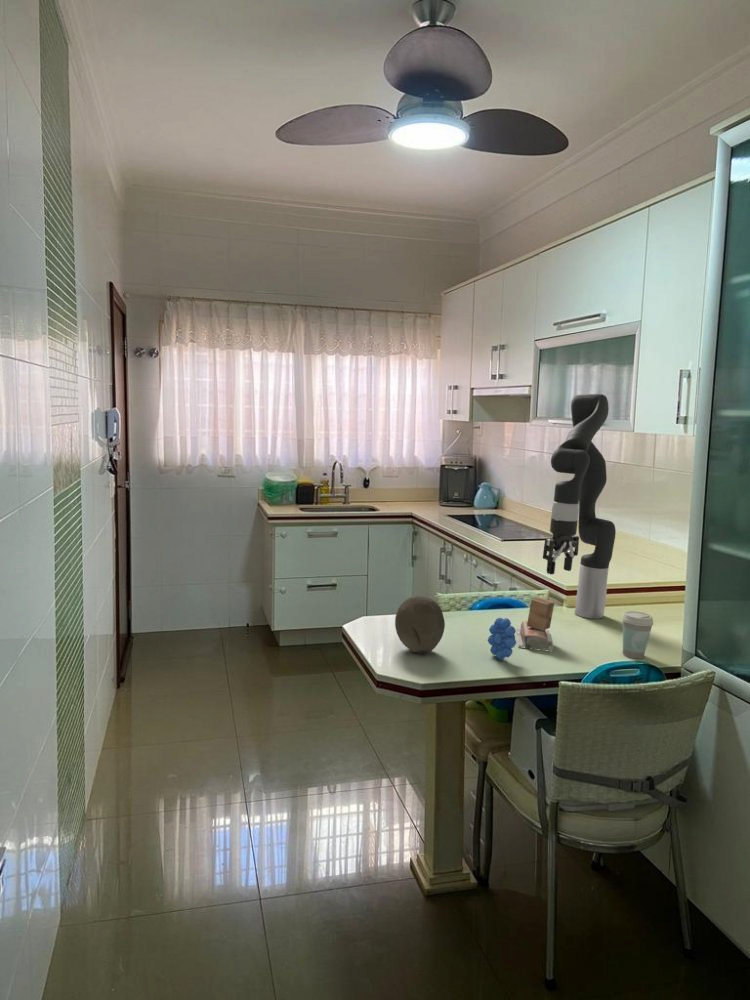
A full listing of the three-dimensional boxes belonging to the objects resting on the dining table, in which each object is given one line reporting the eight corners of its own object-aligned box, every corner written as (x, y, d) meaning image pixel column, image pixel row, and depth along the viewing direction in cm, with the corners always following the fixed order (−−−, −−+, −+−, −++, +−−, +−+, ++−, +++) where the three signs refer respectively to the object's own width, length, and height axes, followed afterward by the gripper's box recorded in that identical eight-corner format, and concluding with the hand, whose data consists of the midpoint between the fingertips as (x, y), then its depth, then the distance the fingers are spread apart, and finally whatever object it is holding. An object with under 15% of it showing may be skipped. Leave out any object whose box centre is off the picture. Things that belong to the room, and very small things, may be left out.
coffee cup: (625, 659, 205) (630, 618, 204) (613, 649, 214) (618, 609, 212) (654, 661, 206) (659, 620, 204) (641, 650, 214) (646, 611, 213)
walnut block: (534, 622, 220) (539, 597, 218) (549, 627, 216) (554, 602, 215) (526, 625, 216) (531, 599, 214) (542, 630, 213) (546, 604, 211)
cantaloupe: (453, 653, 200) (458, 600, 198) (417, 663, 191) (421, 608, 189) (417, 638, 211) (421, 588, 208) (381, 647, 201) (385, 594, 199)
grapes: (525, 666, 195) (529, 622, 193) (503, 668, 192) (508, 624, 190) (501, 650, 205) (505, 609, 204) (481, 652, 203) (485, 611, 201)
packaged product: (555, 638, 207) (519, 634, 208) (553, 654, 208) (518, 650, 209) (550, 619, 225) (517, 616, 226) (548, 634, 225) (515, 631, 227)
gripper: (567, 514, 219) (562, 566, 221) (539, 517, 209) (533, 572, 212) (589, 518, 213) (583, 572, 216) (561, 521, 204) (555, 578, 206)
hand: (558, 572), depth 214 cm, fingers open, 8 cm apart
